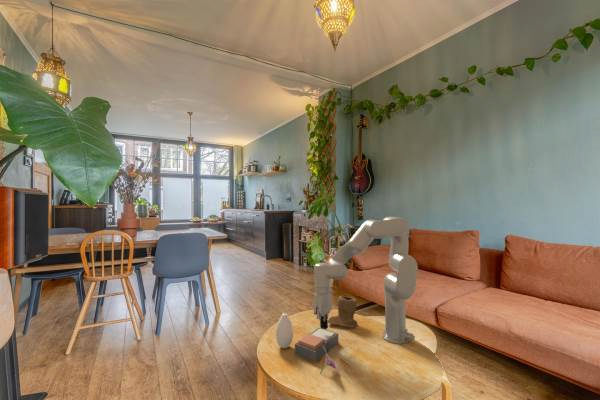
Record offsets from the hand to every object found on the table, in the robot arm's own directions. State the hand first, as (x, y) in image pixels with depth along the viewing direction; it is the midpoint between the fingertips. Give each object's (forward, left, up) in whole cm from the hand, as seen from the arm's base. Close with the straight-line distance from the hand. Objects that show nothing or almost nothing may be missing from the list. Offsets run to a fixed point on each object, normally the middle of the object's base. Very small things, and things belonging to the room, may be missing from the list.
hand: (324, 327), depth 131 cm
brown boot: (+2, -25, -8) cm, 26 cm away
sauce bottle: (+13, +13, -8) cm, 20 cm away
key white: (0, 0, -5) cm, 5 cm away
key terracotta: (0, +10, -4) cm, 11 cm away
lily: (-13, +17, -8) cm, 23 cm away
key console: (0, +5, -8) cm, 9 cm away
